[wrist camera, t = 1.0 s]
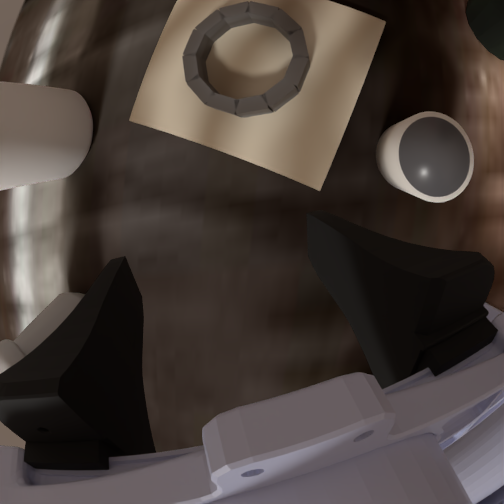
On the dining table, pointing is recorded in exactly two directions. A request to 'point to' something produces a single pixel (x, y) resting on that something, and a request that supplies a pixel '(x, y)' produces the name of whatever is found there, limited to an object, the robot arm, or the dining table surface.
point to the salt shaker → (38, 329)
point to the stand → (260, 79)
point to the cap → (426, 156)
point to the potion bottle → (488, 24)
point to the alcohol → (41, 133)
